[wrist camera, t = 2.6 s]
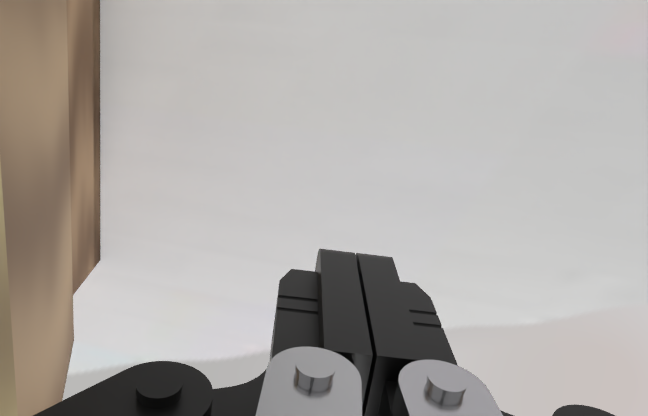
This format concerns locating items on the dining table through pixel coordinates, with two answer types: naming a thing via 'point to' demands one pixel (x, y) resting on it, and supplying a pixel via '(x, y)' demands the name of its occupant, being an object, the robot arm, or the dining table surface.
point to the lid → (34, 207)
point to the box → (84, 134)
